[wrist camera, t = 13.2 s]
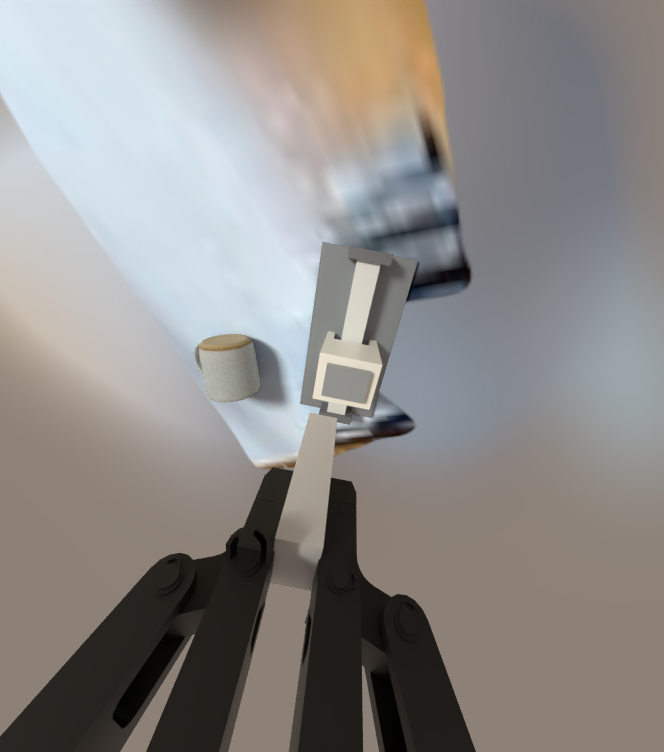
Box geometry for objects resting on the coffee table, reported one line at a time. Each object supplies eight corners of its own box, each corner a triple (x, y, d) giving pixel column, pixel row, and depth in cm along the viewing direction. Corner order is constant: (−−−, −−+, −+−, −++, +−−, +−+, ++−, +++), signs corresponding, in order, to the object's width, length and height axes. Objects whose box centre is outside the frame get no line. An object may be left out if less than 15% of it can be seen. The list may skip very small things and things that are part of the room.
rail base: (323, 242, 31) (319, 240, 28) (417, 260, 31) (423, 260, 28) (300, 402, 41) (296, 413, 38) (370, 416, 41) (372, 429, 38)
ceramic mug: (260, 331, 37) (236, 347, 30) (268, 380, 40) (248, 405, 33) (194, 331, 38) (156, 347, 31) (207, 379, 41) (176, 403, 34)
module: (328, 331, 35) (319, 354, 26) (376, 340, 35) (382, 367, 26) (321, 369, 38) (311, 402, 29) (366, 378, 38) (369, 413, 29)
